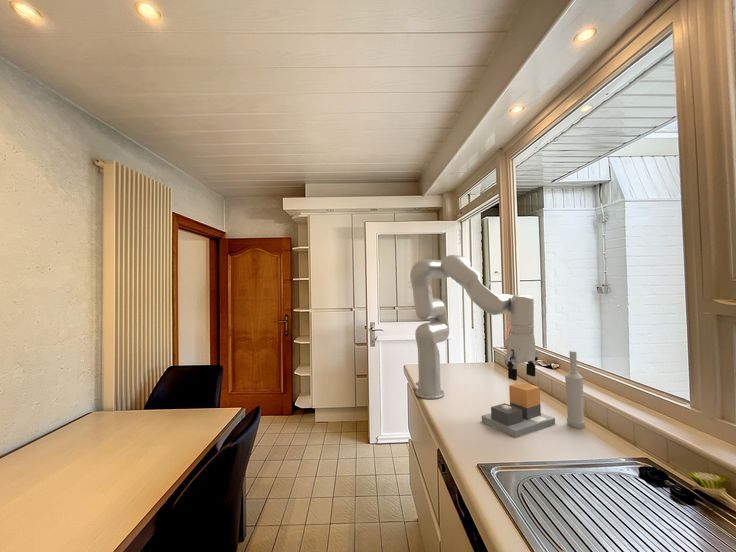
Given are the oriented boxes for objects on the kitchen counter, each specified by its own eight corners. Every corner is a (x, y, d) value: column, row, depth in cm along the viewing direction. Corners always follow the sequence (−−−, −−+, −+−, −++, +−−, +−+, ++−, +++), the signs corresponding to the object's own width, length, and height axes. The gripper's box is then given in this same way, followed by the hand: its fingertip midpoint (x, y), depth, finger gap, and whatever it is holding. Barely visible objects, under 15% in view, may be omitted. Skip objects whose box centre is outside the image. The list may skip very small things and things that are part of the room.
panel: (481, 421, 116) (481, 404, 116) (519, 410, 125) (519, 394, 125) (515, 437, 103) (514, 418, 103) (555, 423, 112) (554, 406, 112)
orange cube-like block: (509, 401, 117) (509, 385, 118) (522, 398, 121) (522, 382, 121) (527, 408, 111) (526, 390, 111) (540, 404, 114) (539, 387, 115)
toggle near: (501, 417, 112) (501, 406, 112) (506, 416, 113) (505, 404, 113) (507, 420, 110) (506, 408, 110) (512, 418, 111) (511, 407, 111)
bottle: (585, 429, 107) (582, 353, 108) (566, 426, 110) (563, 352, 111) (584, 423, 112) (581, 350, 112) (566, 420, 115) (564, 349, 115)
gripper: (528, 326, 124) (528, 371, 124) (496, 329, 116) (496, 378, 116) (547, 329, 117) (547, 377, 117) (514, 333, 109) (514, 384, 109)
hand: (521, 377), depth 117 cm, fingers open, 9 cm apart
